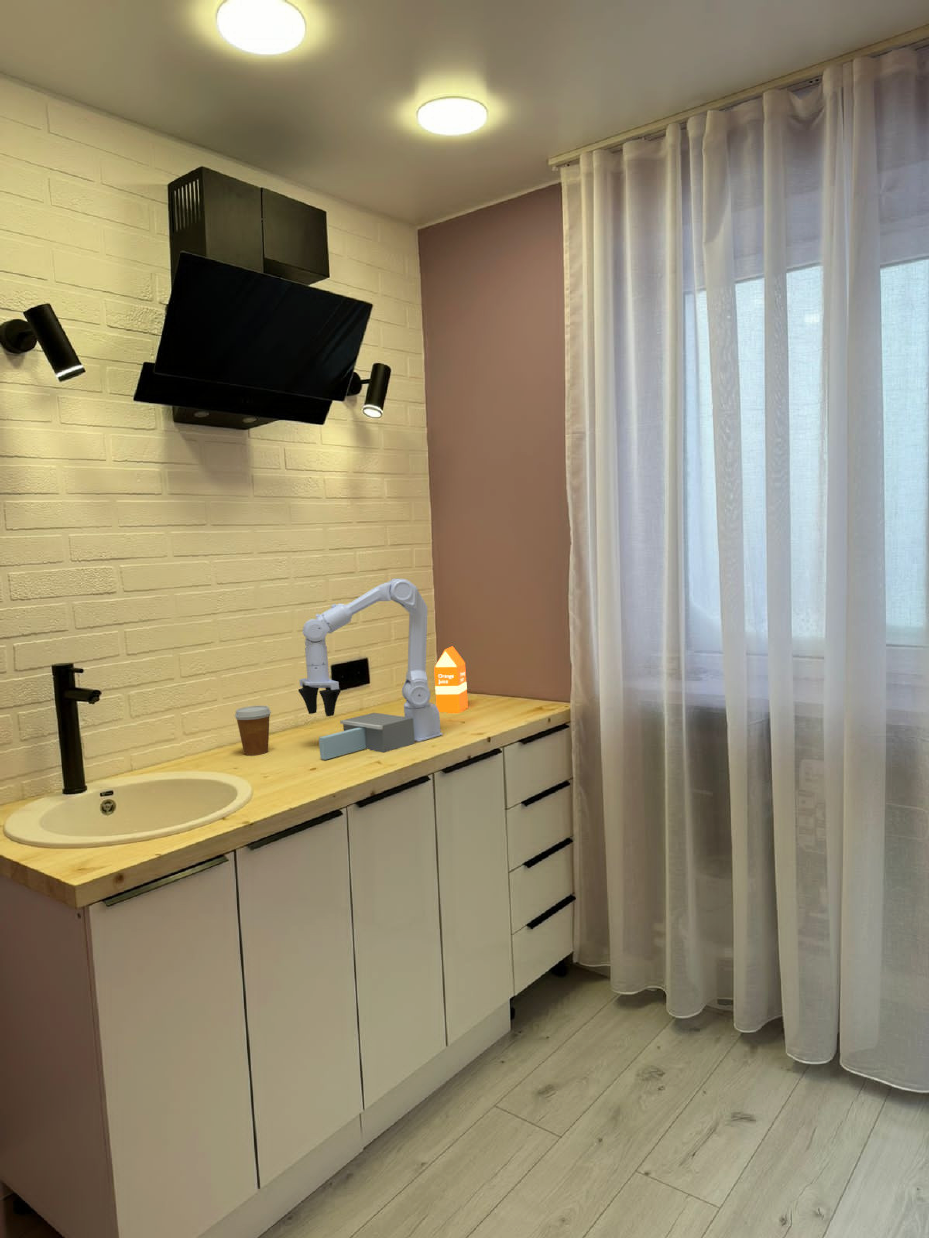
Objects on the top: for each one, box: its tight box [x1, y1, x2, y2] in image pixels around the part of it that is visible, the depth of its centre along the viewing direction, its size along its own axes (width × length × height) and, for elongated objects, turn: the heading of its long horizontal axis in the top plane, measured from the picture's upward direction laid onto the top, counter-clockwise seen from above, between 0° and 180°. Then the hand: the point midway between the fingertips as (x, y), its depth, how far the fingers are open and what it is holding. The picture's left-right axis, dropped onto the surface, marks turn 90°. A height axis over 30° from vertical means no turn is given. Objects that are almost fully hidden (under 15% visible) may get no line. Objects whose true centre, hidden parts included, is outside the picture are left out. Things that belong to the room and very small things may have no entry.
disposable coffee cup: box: [234, 705, 272, 756], centre depth 234 cm, size 10×10×12 cm
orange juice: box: [433, 645, 469, 714], centre depth 276 cm, size 8×9×20 cm
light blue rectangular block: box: [318, 727, 367, 761], centre depth 226 cm, size 14×2×6 cm, turn 137°
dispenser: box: [339, 712, 416, 753], centre depth 234 cm, size 12×16×7 cm
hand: (321, 714), depth 233 cm, fingers open, 7 cm apart
